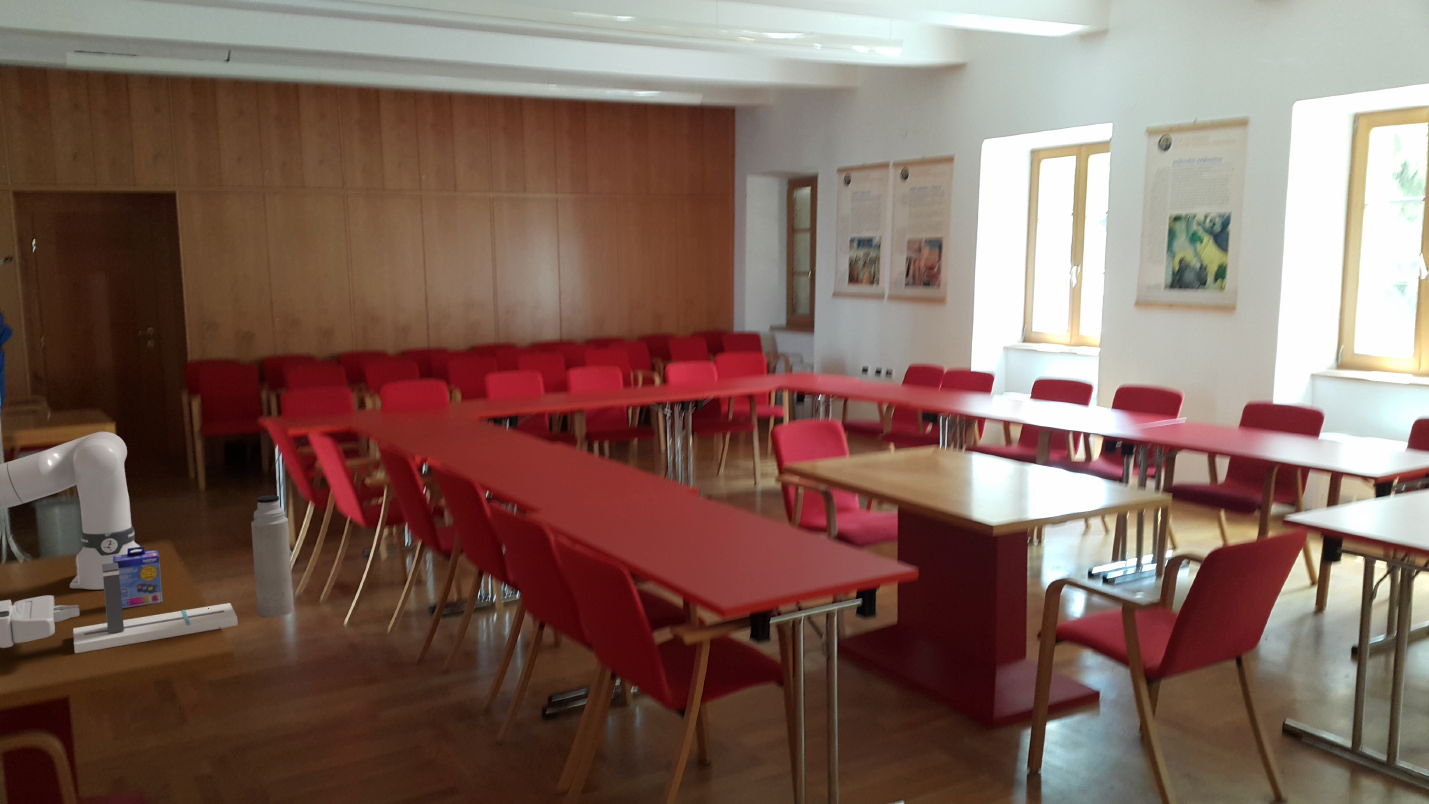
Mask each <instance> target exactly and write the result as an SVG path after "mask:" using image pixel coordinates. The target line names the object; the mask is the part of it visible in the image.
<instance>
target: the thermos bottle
mask: <svg viewBox="0 0 1429 804" xmlns="http://www.w3.org/2000/svg"><path fill="white" fill-rule="evenodd" d="M279 500H280V496H279V495H272V494H271V495H263V496H258V497H257V498H256V503H257V504H256V506H257V509H256V510H255V511H254V512H253V520H252V521H251V522H250V523H251V524H250V526H251V538H252V540H251V541H252V550H253V551H252V553H253V568H254V577H255V579H254V580H255V594H256V595H255V596H256V609H257V611H256V612H257V616H258V617H260V618H268V619H269V618H270V619H272V618H279V617H284V616H288V615H289V614H292V613H293V612H294V610H295V606H294V593H293V577H292V565H291V546H290V530H289V519H288V517H286V516H285V514H286V513H285V509H284V508H283V507H281V505H280V504H281V503H280V501H279Z"/></svg>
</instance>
